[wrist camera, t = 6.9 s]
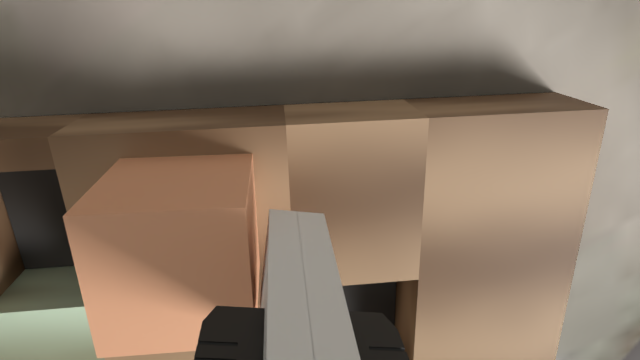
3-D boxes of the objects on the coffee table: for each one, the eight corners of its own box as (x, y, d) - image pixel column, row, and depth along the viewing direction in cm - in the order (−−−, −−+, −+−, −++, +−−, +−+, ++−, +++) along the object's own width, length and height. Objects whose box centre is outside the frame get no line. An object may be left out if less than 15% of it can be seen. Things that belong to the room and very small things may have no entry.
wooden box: (513, 339, 22) (596, 454, 16) (28, 384, 20) (-66, 531, 14) (555, 92, 17) (687, 133, 12) (-64, 120, 16) (-251, 186, 10)
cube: (259, 264, 15) (255, 346, 12) (140, 271, 15) (97, 358, 11) (252, 153, 14) (245, 207, 10) (119, 158, 14) (62, 216, 10)
